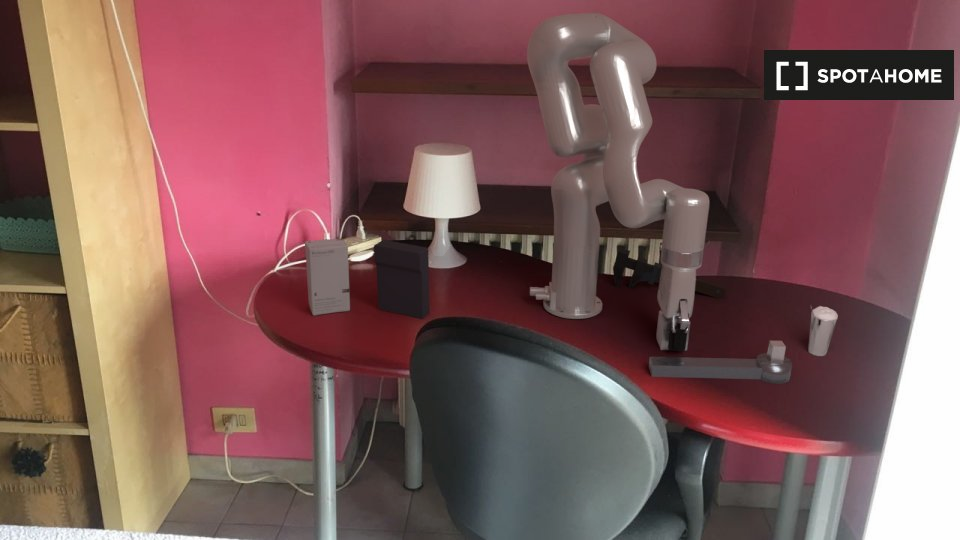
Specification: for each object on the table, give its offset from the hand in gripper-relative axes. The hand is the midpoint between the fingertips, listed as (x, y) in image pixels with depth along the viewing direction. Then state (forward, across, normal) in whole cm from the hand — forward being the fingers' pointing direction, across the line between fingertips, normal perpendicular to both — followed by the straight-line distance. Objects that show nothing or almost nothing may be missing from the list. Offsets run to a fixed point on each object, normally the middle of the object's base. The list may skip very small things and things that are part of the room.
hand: (671, 338), depth 148 cm
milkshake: (+1, +2, +27) cm, 27 cm away
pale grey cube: (+1, 0, 0) cm, 1 cm away
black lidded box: (+1, -12, -54) cm, 55 cm away
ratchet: (+1, +11, +7) cm, 13 cm away
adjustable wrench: (+2, -26, +4) cm, 27 cm away
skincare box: (+1, -13, -70) cm, 71 cm away
